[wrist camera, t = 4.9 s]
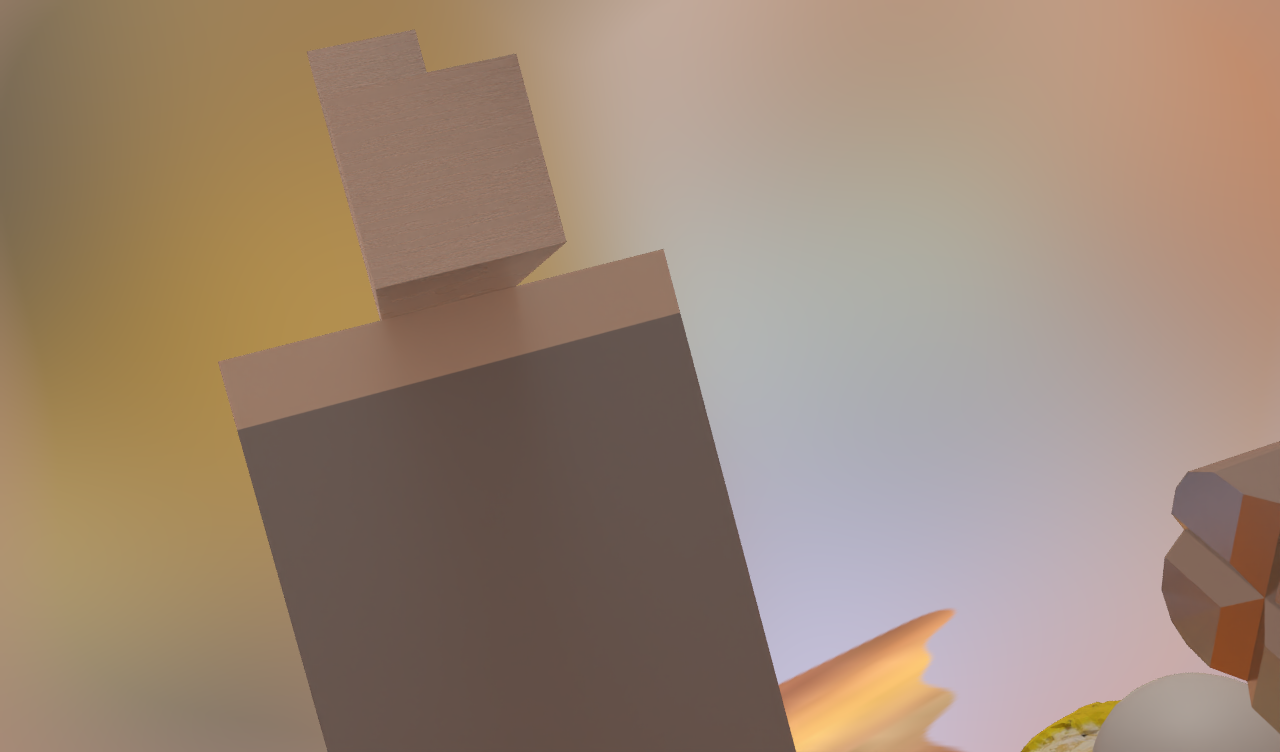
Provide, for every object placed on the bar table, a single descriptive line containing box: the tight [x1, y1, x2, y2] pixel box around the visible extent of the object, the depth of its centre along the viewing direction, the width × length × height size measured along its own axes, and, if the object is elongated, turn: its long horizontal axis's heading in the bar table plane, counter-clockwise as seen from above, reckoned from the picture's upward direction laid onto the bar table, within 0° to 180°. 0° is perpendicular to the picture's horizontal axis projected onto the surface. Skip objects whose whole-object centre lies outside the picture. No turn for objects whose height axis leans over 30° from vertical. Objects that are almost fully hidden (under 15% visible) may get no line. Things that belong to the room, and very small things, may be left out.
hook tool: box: [307, 30, 566, 321], centre depth 27 cm, size 3×18×8 cm, turn 12°
